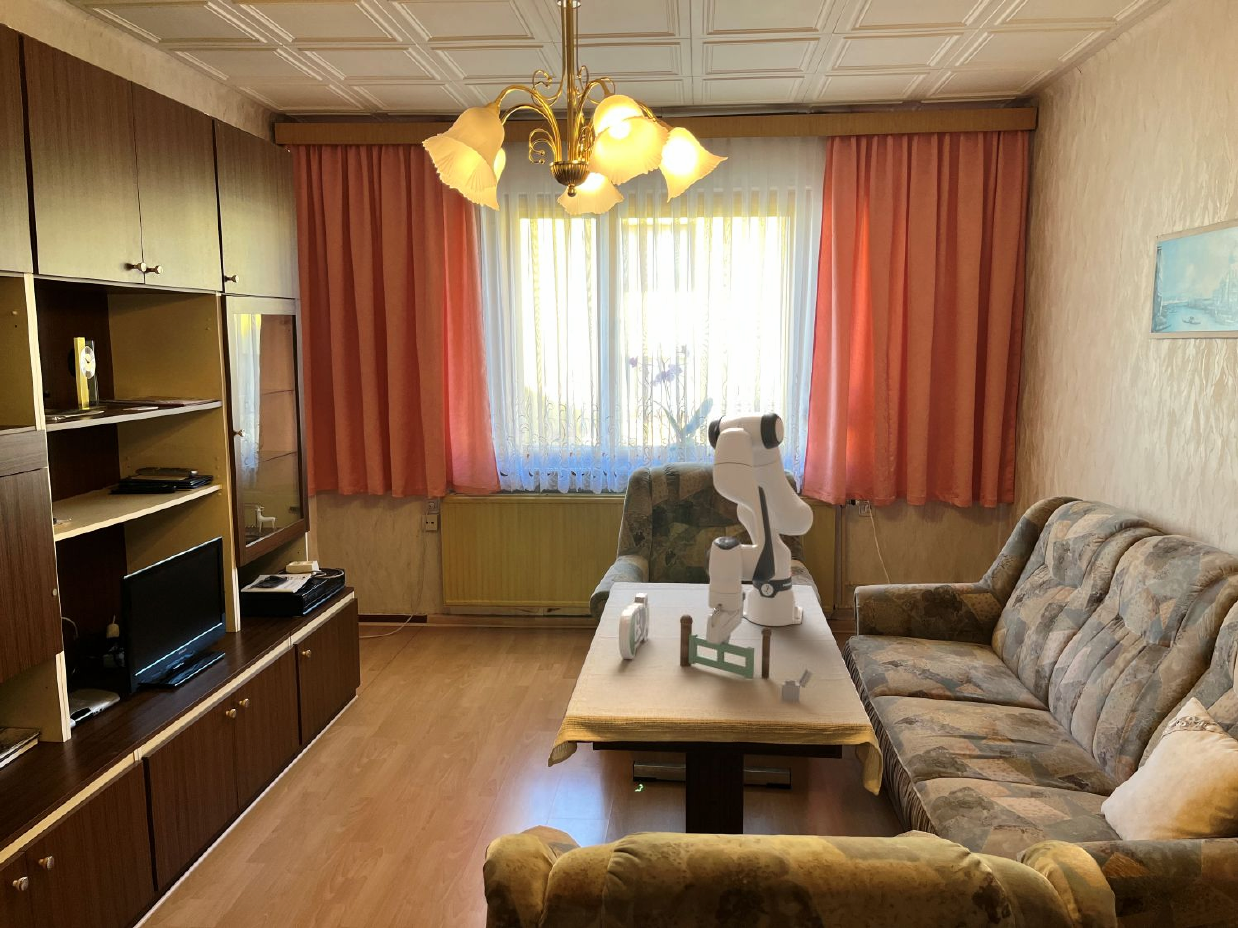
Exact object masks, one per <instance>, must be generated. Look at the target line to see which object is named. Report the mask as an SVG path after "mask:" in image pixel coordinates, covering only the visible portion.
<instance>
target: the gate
mask: <svg viewBox="0 0 1238 928" xmlns="http://www.w3.org/2000/svg"><path fill="white" fill-rule="evenodd" d="M698 647H703V648H705V649H706V648H707V649H711V650H715V651H716V653H717V654H716V658H713V657H709V656H706V655H701V654H698ZM725 653H726V654H731V655H733V656H739V657H742V658H745V665H740V664H737V663H733V662H730V661H729V662H728V661H725ZM689 663H690V664H691V665H695V664H699V665H702V666H707V667H709V668H714V669H717V670H722V671H725V672H729V673H733V674H737V675H740V676H744V679H745V680H746V679H747V680H749V681H752V680H753V679H754V677H755V676H754V673H755V647H751V646H748V647H743V646H738V645H734V644H731V643H729V644H727V643H723V642H722V643H721V644H720V645H714V644H709V643H707V641H706V637H703V636H699V635H698V633H695V632H692V633H691V634H689Z"/></svg>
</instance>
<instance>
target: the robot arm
mask: <svg viewBox="0 0 1238 928" xmlns="http://www.w3.org/2000/svg"><path fill="white" fill-rule="evenodd" d="M707 429H708V430H707V437H708V443H709V444H710V446H711V447H712V449H713V450H714V454H713V465H712V479H713V480H712V481H713V487H714V488H715V490H716V491H717V493H719V494H720V495H721V496H722V497H724V498H725V499H727V500H729V501H731V502H734V504H737V506H736V515H737V518H738V520H739V522H740V523H741V524H742V525H743V526H744V528H745V529H746V530H747V533H748V534H749V536H750V539H751V542H752V544H742V543H741V541H740V540H739V539H738V538H735V537H732V536H721V537H717V538H714V539H713V541H712V544H711V547H710V548H709V550H708V551H706V555H705V557H706V560H705V561H706V564H705V565H706V566H705V568H706V569H705V571H706V573H707V574H708V576H709V584H708V597H707V599H708V600H707V603H708V605H707V606H708V608H710V609H712V612H710V613H709V614H708V617H707V622H706V633H705V635H706V636H705V638H706V641H707V643H709V644H714V645H720V644H721V643H722V642H723V643H727V644H730V640H731V634H732V633H733V632H734V631H735V630H736V628H737V627H739V626H740V624H741V623H742V620H743V617H744V618H746V619H747V620H748V621H750V622H752V623H754V624H758V625H760V626H766V627H767V626H768V627H769V626H770V627H782V626H783V627H784V626H788V625H800V624H802V620H803V607H802V606H798V605H796V604H797V603H796V602H797V594H796V592H795V590H794V589H793V572H792V570H791V569H792V552H791V550H790V548H789V547H788V546H787V545H786V544H785V543H784V542H783V540H782V538H781V536H780V535H786V536H801V535H802V536H803V535H805V534H807V533H808V531H810V529H811V527H812V526H813V522H814V512H813V510H812V508H811V506H810V505H809V504H808V503H806V502H805V501H803V499H801V498H800V497H799V496H798V494H797V493H796V492H795V490H794V489H793V487H792V486H791V484H790V482H789V480H788V478H787V476H786V472H785V468H784V463H783V460H782V455H781V452H780V451H781V450H780V445H781V444H782V443H783V440H784V435H785V428H784V422H783V419H782V418H781V417H780V416H779V415H778V414H777V413H775V412H769V411H764V412H742V413H737V414H731V415H721V416H717V417H715V418H713V419H712V420H711V422H710V423H709V425H708V428H707ZM742 581H749V582H751V581H752V588H750V589H749V590H748V592H747V594H746V591H743V585H742ZM746 595H747V596H746ZM746 598H747V599H746ZM745 600H746V610H744V603H745V602H744V601H745Z"/></svg>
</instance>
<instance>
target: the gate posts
mask: <svg viewBox="0 0 1238 928" xmlns="http://www.w3.org/2000/svg"><path fill="white" fill-rule="evenodd" d="M693 622H694V621H693V618H692V616H691V615H689V614H683V615H682V616H681V617H680V619H679V623H680V641H679V642H680V645H679V646H680V647H679V648H680V649H679V651H680V652H679V655H680V656H679V665H680V666H681V667H691V666H692V664H690V663H689V634H691V633H693ZM772 633H773V632H772V630H771V628H770V627H767V626H766V627H764V628H762V629H761V636H762V641H761V644H762V645H761V675H760V676H761V678H762V679H770V661H771V659H770V658H771V636H772Z"/></svg>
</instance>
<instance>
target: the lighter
mask: <svg viewBox="0 0 1238 928" xmlns="http://www.w3.org/2000/svg"><path fill="white" fill-rule="evenodd" d="M812 676H813V671H812V670H810V669H808V668H806V669H805V671H804V673H803V674H802V677H801V678H800V680H799V681H798V682H796V680H795V679H786V680H785V681H784V682H781V698H780V699H781V702H782V703H800V689H801V688H800V687H802V688H806V686H807V685H808V683H809V681H810V679H811V677H812Z"/></svg>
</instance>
